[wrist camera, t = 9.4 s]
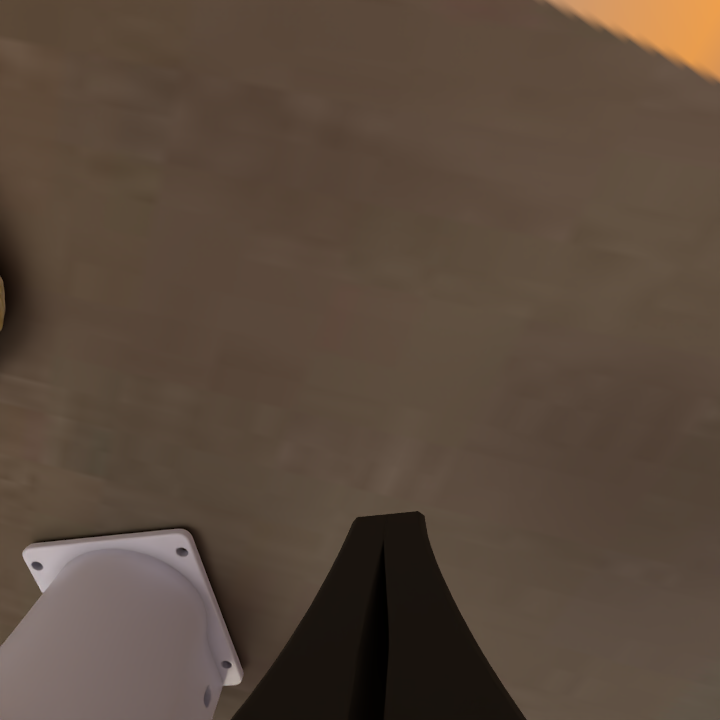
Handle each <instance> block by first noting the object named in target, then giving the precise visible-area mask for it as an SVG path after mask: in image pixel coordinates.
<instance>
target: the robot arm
mask: <svg viewBox="0 0 720 720" xmlns="http://www.w3.org/2000/svg"><path fill="white" fill-rule="evenodd" d="M181 548H184V549H186V550H183V549H181ZM22 555H23V558H24V560H25V562H26V564H27V566H28V567H29V569H30V571H31V573H32V575H33V577H34V579H35V580H36V582H37V584H38V586H39V588H40V590H41V591H42V593H43V594H42V595H41V597H40V598H39V599H38V600H37V602H36V603H35V604H34V605H33V607H32V608H31V609H30V610H29V612H28V613H27V614H26V615H25V617H24V618H23V619H22V620H21V622H20V623H19V624H18V625H17V627H16V628H15V629H14V631H13V632H12V633H11V634H10V636H9V637H8V638H7V639H6V641H5V642H4V643H3V644H2V646H1V647H0V720H212V718H213V715H214V712H215V709H216V706H217V703H218V700H219V696H220V693H221V690H222V687H223V686H228V685H237V684H239V683H241V681H242V678H243V675H244V673H243V669H242V667H241V664H240V661H239V659H238V656H237V653H236V651H235V648H234V645H233V643H232V640H231V638H230V635H229V632H228V630H227V627H226V624H225V622H224V619H223V616H222V614H221V611H220V608H219V606H218V603H217V600H216V598H215V595H214V593H213V590H212V587H211V585H210V582H209V579H208V577H207V574H206V571H205V569H204V566H203V563H202V561H201V558H200V555H199V553H198V550H197V547H196V545H195V542H194V540H193V537H192V535H191V534H190V533H189V532H188V531H187V530H184V529H169V530H159V531H149V532H139V533H129V534H119V535H109V536H100V537H90V538H80V539H70V540H60V541H50V542H40V543H32V544H29V545H28V546H27V547H26V549H25V550H24V551H23V554H22ZM231 720H526V718H525V717H524V715H523V714H522V712H521V711H520V710H519V708H518V707H517V705H516V704H515V702H514V701H513V699H512V698H511V696H510V695H509V693H508V692H507V690H506V689H505V687H504V686H503V684H502V683H501V681H500V680H499V678H498V676H497V675H496V673H495V672H494V670H493V669H492V667H491V666H490V664H489V662H488V661H487V659H486V657H485V656H484V654H483V652H482V651H481V649H480V647H479V646H478V644H477V642H476V640H475V639H474V637H473V635H472V633H471V632H470V630H469V628H468V626H467V624H466V622H465V621H464V619H463V617H462V615H461V613H460V611H459V609H458V607H457V605H456V603H455V602H454V600H453V597H452V595H451V593H450V591H449V589H448V587H447V585H446V582H445V580H444V578H443V576H442V574H441V571H440V569H439V567H438V564H437V562H436V559H435V556H434V554H433V551H432V548H431V545H430V542H429V539H428V534H427V528H426V522H425V516H424V515H423V514H421V513H420V512H418V511H416V512H406V513H396V514H386V515H376V516H366V517H357V518H356V520H355V521H354V522H353V523H352V526H351V528H350V530H349V533H348V535H347V537H346V539H345V541H344V544H343V546H342V548H341V550H340V552H339V554H338V556H337V558H336V560H335V562H334V564H333V566H332V568H331V570H330V572H329V573H328V575H327V577H326V579H325V581H324V582H323V584H322V586H321V588H320V590H319V592H318V593H317V595H316V597H315V599H314V601H313V602H312V604H311V606H310V607H309V609H308V611H307V612H306V614H305V616H304V617H303V619H302V620H301V622H300V623H299V625H298V627H297V628H296V630H295V631H294V633H293V635H292V636H291V638H290V639H289V641H288V643H287V644H286V646H285V647H284V649H283V650H282V652H281V653H280V655H279V656H278V657H277V659H276V660H275V662H274V663H273V665H272V666H271V668H270V669H269V670H268V672H267V673H266V675H265V676H264V677H263V679H262V680H261V681H260V683H259V684H258V685H257V687H256V688H255V689H254V691H253V692H252V693H251V695H250V696H249V697H248V699H247V700H246V701H245V703H244V704H243V705H242V706H241V707H240V709H239V710H238V711H237V712H236V714H235V715H234V716H233V717H232V719H231Z"/></svg>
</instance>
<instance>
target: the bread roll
mask: <svg viewBox="0 0 720 720" xmlns="http://www.w3.org/2000/svg"><path fill="white" fill-rule="evenodd" d="M4 314H5V293H4V285H3V280H2V278H1V276H0V332H1V330H2V327H3V321H4Z"/></svg>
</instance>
